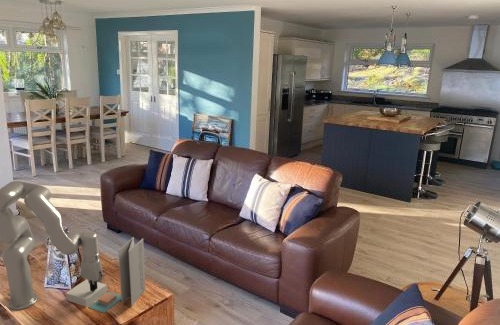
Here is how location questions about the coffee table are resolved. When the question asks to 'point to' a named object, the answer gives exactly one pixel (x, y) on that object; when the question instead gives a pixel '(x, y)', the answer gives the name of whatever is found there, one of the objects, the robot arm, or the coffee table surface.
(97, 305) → the mat
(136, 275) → the brochure
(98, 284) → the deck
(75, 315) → the coffee table surface
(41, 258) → the coffee table surface
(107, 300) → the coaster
